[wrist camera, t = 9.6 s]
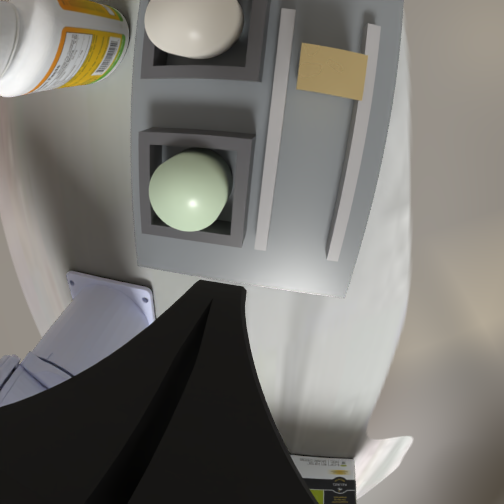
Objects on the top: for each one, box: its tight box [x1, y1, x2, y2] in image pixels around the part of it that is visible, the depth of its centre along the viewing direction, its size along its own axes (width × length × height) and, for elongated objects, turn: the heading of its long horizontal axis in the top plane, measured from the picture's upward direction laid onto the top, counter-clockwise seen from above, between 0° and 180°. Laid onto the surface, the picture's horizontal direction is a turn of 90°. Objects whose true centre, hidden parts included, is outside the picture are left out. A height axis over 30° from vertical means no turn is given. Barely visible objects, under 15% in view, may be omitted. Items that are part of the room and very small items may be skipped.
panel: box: [131, 0, 404, 298], centre depth 14 cm, size 18×13×4 cm
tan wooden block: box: [296, 43, 368, 101], centre depth 11 cm, size 2×2×3 cm
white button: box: [144, 0, 244, 59], centre depth 10 cm, size 4×4×2 cm
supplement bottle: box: [0, 0, 129, 97], centre depth 10 cm, size 5×5×10 cm
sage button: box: [149, 147, 233, 232], centre depth 15 cm, size 4×4×2 cm
